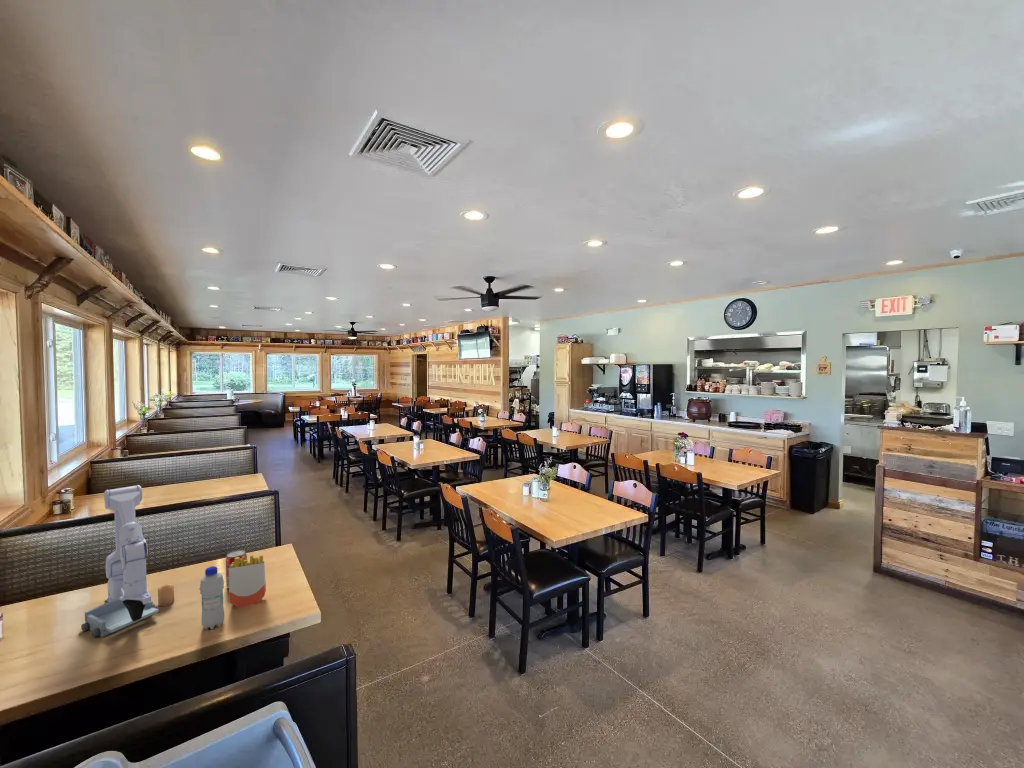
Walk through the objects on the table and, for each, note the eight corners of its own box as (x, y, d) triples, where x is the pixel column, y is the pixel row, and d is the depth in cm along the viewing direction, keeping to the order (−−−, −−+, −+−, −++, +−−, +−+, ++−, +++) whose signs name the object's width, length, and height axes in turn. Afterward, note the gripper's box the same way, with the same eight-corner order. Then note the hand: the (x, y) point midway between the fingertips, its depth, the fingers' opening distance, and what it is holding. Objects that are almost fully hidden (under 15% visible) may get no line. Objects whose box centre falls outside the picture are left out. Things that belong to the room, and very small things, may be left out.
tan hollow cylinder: (155, 604, 158) (154, 586, 158) (170, 598, 162) (169, 580, 162) (162, 607, 156) (161, 589, 156) (177, 601, 160) (176, 583, 160)
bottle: (199, 633, 141) (197, 573, 140) (202, 623, 147) (200, 565, 146) (224, 628, 144) (222, 569, 143) (226, 617, 150) (224, 560, 149)
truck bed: (80, 629, 143) (79, 613, 142) (140, 604, 158) (140, 589, 157) (99, 640, 137) (98, 623, 137) (159, 613, 152) (159, 597, 152)
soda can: (237, 591, 167) (236, 558, 167) (221, 589, 169) (220, 556, 168) (252, 582, 174) (251, 550, 174) (236, 580, 176) (235, 548, 175)
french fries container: (232, 602, 159) (230, 554, 158) (266, 596, 163) (264, 549, 163) (229, 609, 155) (228, 559, 154) (264, 602, 159) (263, 554, 158)
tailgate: (105, 627, 139) (111, 630, 137) (152, 607, 151) (158, 609, 149) (105, 630, 139) (111, 633, 137) (152, 610, 151) (158, 612, 149)
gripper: (108, 579, 142) (110, 620, 143) (131, 589, 136) (133, 632, 136) (134, 570, 148) (136, 609, 149) (158, 579, 142) (159, 620, 143)
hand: (136, 619), depth 143 cm, fingers closed
